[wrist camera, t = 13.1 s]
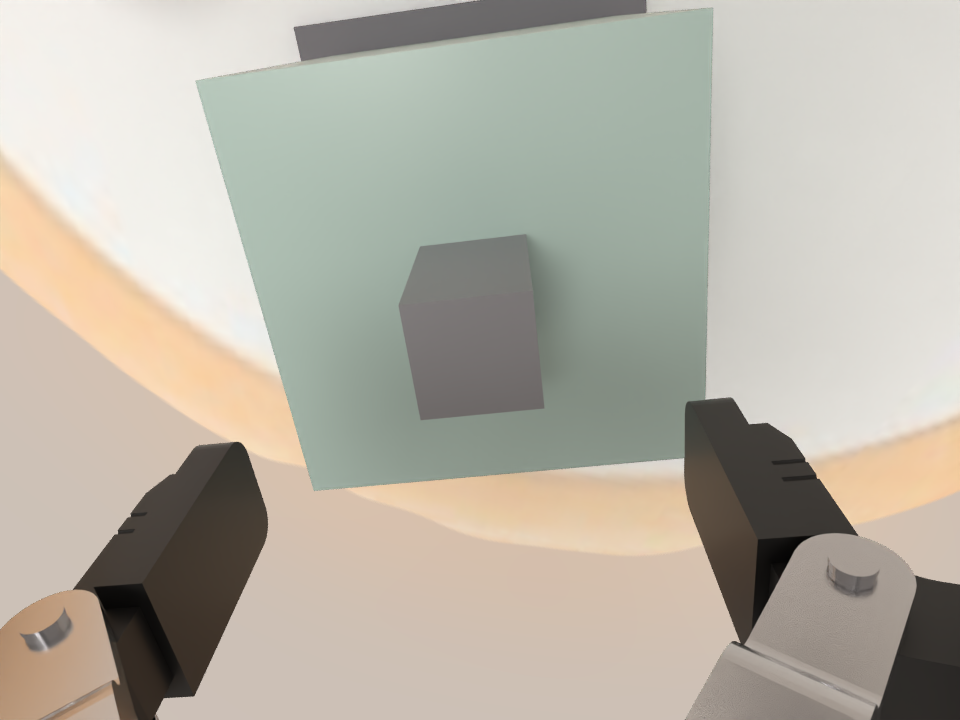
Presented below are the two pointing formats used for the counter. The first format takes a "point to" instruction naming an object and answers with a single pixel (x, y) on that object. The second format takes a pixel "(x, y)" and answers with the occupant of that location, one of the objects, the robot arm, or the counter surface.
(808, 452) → the counter surface
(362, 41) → the mat
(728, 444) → the robot arm
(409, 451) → the cover
